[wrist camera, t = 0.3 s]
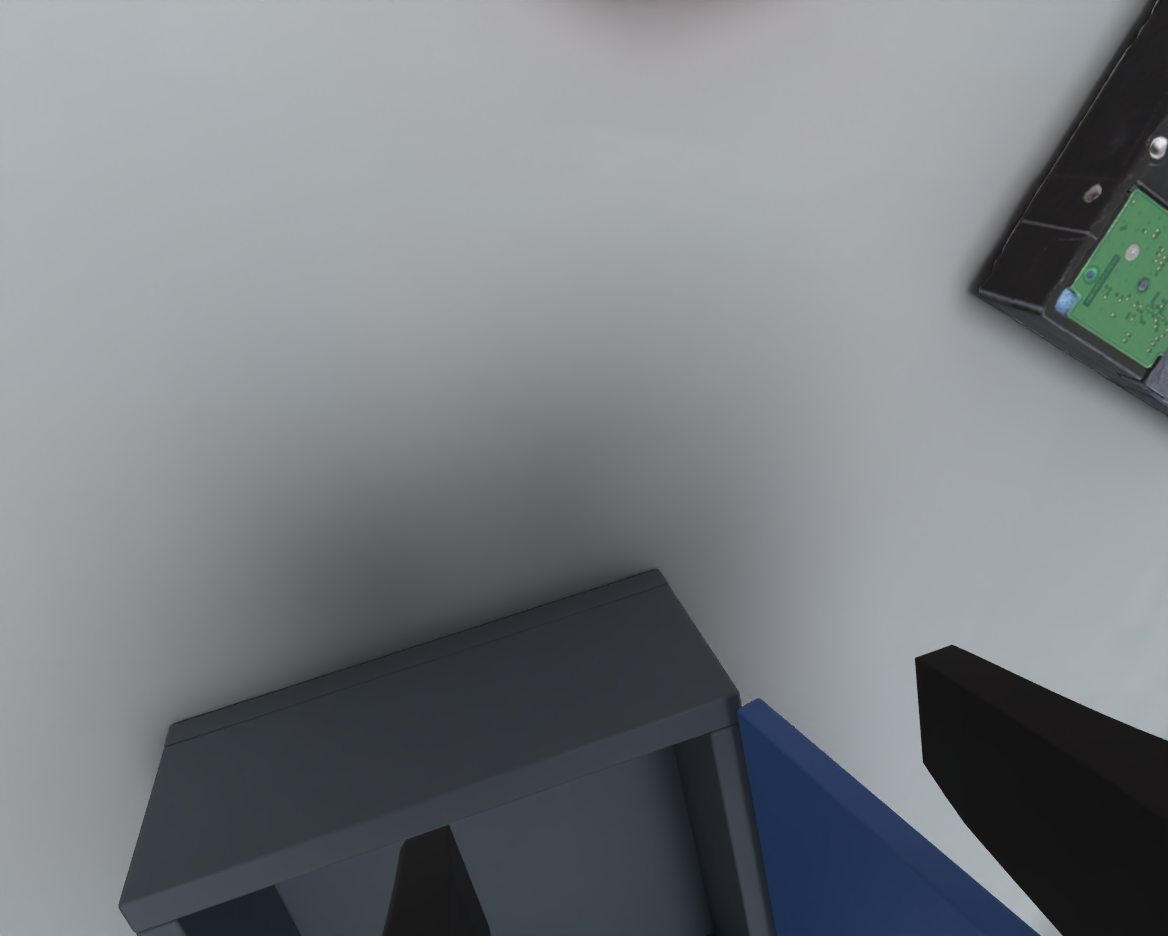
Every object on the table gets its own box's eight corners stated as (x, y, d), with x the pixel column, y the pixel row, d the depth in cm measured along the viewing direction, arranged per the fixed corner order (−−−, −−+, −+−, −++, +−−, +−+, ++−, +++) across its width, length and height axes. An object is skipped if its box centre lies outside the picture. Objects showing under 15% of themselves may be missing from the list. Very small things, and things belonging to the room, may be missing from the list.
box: (349, 1063, 27) (349, 1272, 22) (169, 724, 21) (115, 907, 17) (731, 918, 29) (808, 1083, 24) (658, 567, 23) (739, 691, 18)
